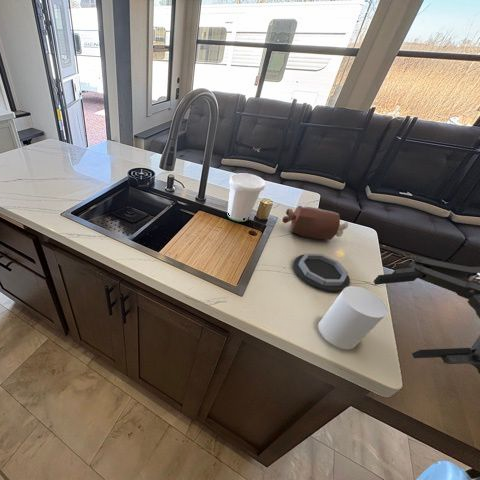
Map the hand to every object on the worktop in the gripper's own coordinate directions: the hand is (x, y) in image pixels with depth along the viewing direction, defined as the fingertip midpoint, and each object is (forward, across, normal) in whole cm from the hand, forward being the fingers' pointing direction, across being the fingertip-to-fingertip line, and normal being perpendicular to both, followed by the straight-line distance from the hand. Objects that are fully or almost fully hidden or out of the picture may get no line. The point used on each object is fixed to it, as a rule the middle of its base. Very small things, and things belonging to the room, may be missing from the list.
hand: (394, 313), depth 46 cm
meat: (-2, +40, -31) cm, 50 cm away
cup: (+20, +50, -26) cm, 60 cm away
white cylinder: (+5, +1, -16) cm, 17 cm away
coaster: (+1, +21, -23) cm, 31 cm away
